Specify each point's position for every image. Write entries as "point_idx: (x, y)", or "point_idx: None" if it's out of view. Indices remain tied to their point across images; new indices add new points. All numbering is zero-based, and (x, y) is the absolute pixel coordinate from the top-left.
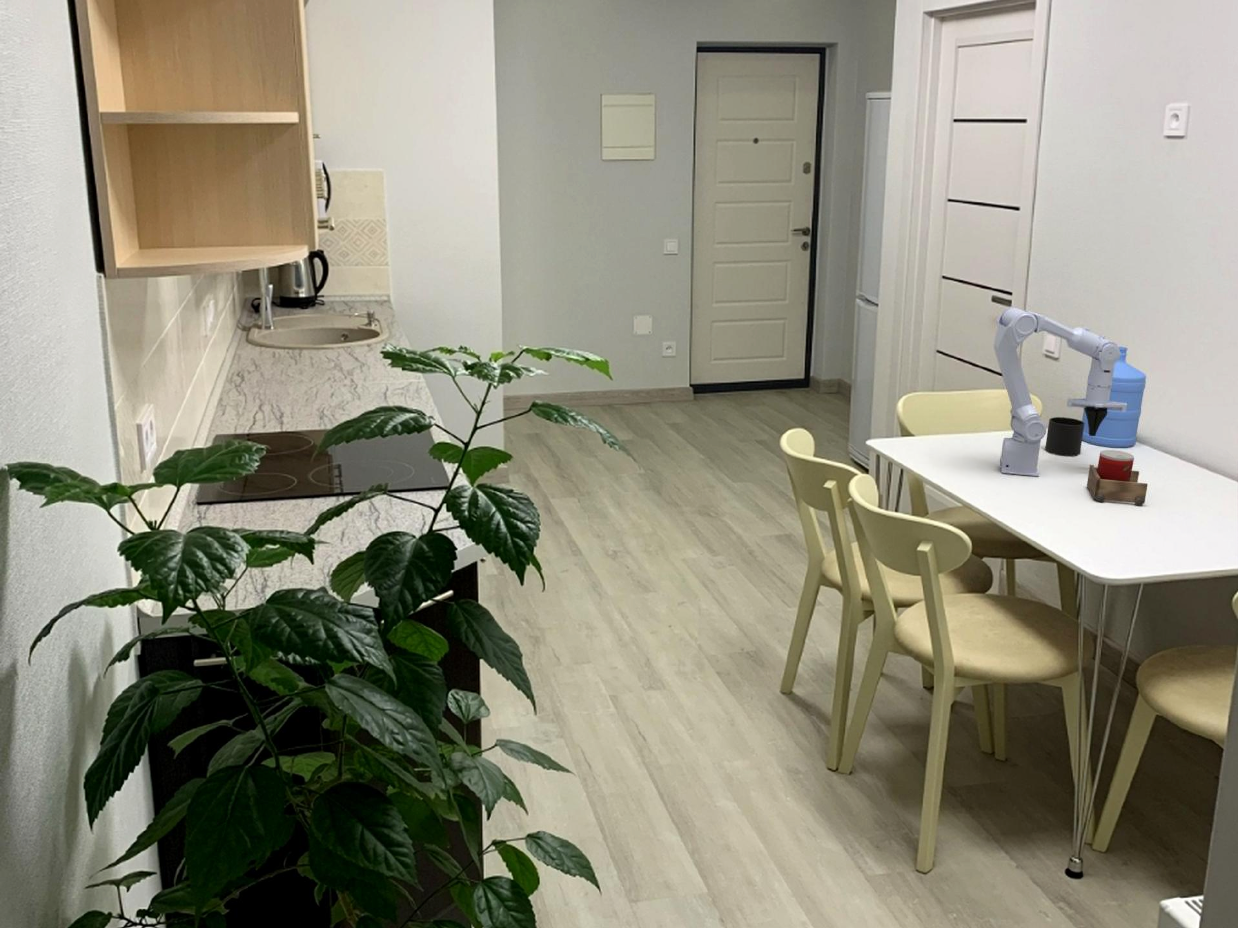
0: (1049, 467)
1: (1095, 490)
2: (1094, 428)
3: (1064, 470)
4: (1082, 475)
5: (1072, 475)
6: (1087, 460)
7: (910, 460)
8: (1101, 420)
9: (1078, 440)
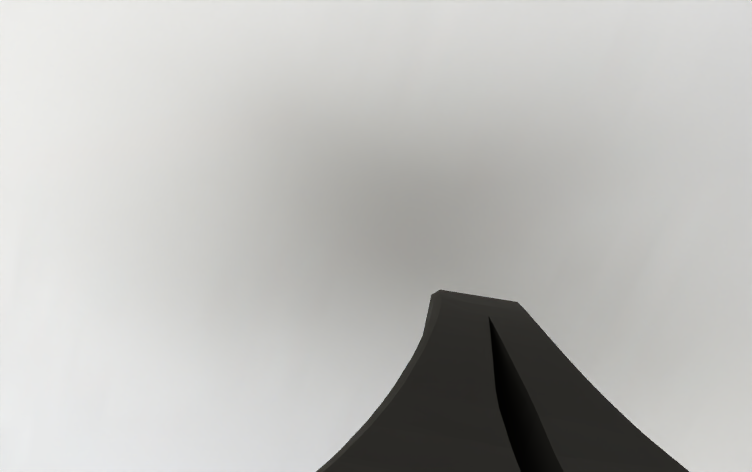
0: (725, 251)
1: None
2: (490, 354)
3: (624, 183)
4: (514, 47)
5: (618, 29)
6: (323, 462)
7: None
8: (372, 451)
9: None
